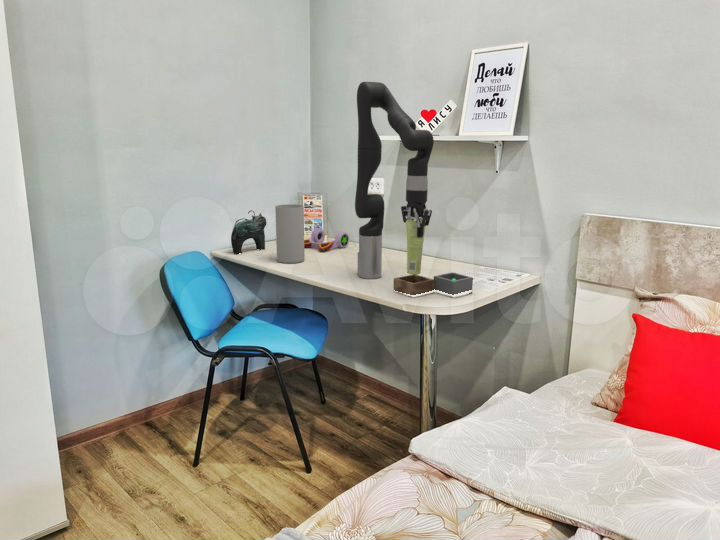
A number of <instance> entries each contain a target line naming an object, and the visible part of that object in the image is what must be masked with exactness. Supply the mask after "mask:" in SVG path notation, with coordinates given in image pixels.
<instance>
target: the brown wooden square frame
mask: <svg viewBox="0 0 720 540" xmlns="http://www.w3.org/2000/svg"><path fill="white" fill-rule="evenodd" d="M434 282H435V280H434V278H429V277H426V276H423V275H420V274H417V275H413V274H408V275H403V276H400V277H394V278H393V291H394V290H395V291H398V292H402V293H406V294H410V295H416V294H421V293H425V292H429V291H432V290H434Z"/></svg>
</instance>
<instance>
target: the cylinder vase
mask: <svg viewBox="0 0 720 540" xmlns="http://www.w3.org/2000/svg"><path fill="white" fill-rule="evenodd" d="M304 207H305V206H304V205H303V204H290V203H289V204H278V205H275V234H276V235H275V238H276V243H275V244H276V260H277V262H279V263H281V264H289V263H290V264H298V263H303V262H304V261H305V257H306V256H305V247H304V240H305V220H304V219H305V214H304V213H305V211H304V210H305V209H304Z"/></svg>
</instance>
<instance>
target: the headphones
mask: <svg viewBox="0 0 720 540" xmlns="http://www.w3.org/2000/svg"><path fill="white" fill-rule="evenodd" d="M325 236H326V235H325V232H324V230H323V229H322V228H320V227H317V228H315V229H313V230H312V232H311V234H310V237H308V238H307V239H304V248H307V247H308V248H311V249H312V250H313V249H314V250H321V251H326V250H331V249H334V248H339V249H344V247H345V248H347V246H349V243H350V237H349V234H348V233H346V232H345V231H339V232H338V233H337V234H336V236H335V239H333V240H331V241H326V242H324V241H325Z"/></svg>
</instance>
